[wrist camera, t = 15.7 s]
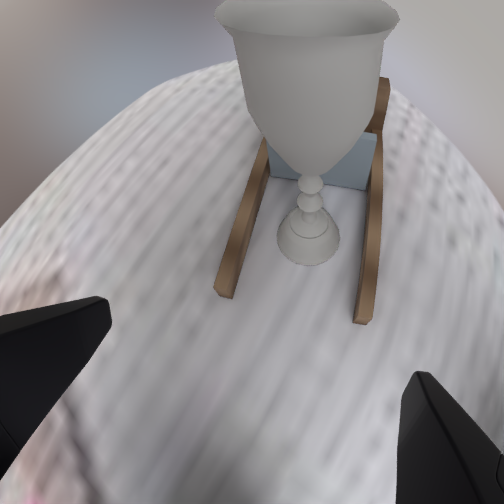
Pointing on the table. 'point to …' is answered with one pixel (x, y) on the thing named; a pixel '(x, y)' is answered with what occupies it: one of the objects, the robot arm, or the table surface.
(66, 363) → the robot arm
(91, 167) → the table surface
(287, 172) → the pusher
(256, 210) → the brown wooden u-shaped piece
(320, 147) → the chalice
